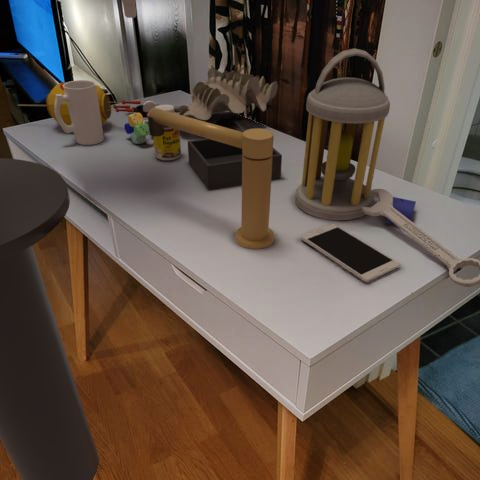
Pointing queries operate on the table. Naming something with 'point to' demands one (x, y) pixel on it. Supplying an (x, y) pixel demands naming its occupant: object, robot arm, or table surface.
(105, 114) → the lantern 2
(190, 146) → the tray
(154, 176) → the table surface
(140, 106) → the watch
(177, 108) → the pen
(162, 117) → the spout
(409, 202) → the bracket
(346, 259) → the smartphone
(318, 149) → the lantern
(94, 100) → the mug
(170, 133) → the supplement bottle
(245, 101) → the seashell
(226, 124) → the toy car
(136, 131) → the dice
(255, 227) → the faucet column
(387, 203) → the wrench
